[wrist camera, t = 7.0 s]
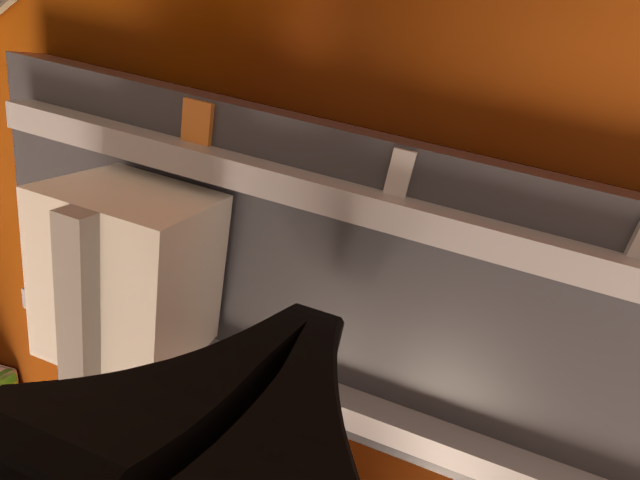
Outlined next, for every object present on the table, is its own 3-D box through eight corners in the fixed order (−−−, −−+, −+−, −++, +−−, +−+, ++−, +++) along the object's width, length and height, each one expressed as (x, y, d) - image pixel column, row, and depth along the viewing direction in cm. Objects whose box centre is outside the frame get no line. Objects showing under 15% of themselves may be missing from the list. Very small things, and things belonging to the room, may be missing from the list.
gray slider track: (734, 548, 14) (787, 638, 12) (58, 299, 19) (4, 328, 17) (971, 268, 10) (1117, 322, 8) (46, 53, 15) (-26, 48, 13)
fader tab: (217, 335, 15) (136, 419, 11) (116, 299, 16) (10, 366, 12) (233, 195, 13) (142, 240, 9) (117, 162, 14) (-8, 191, 10)
